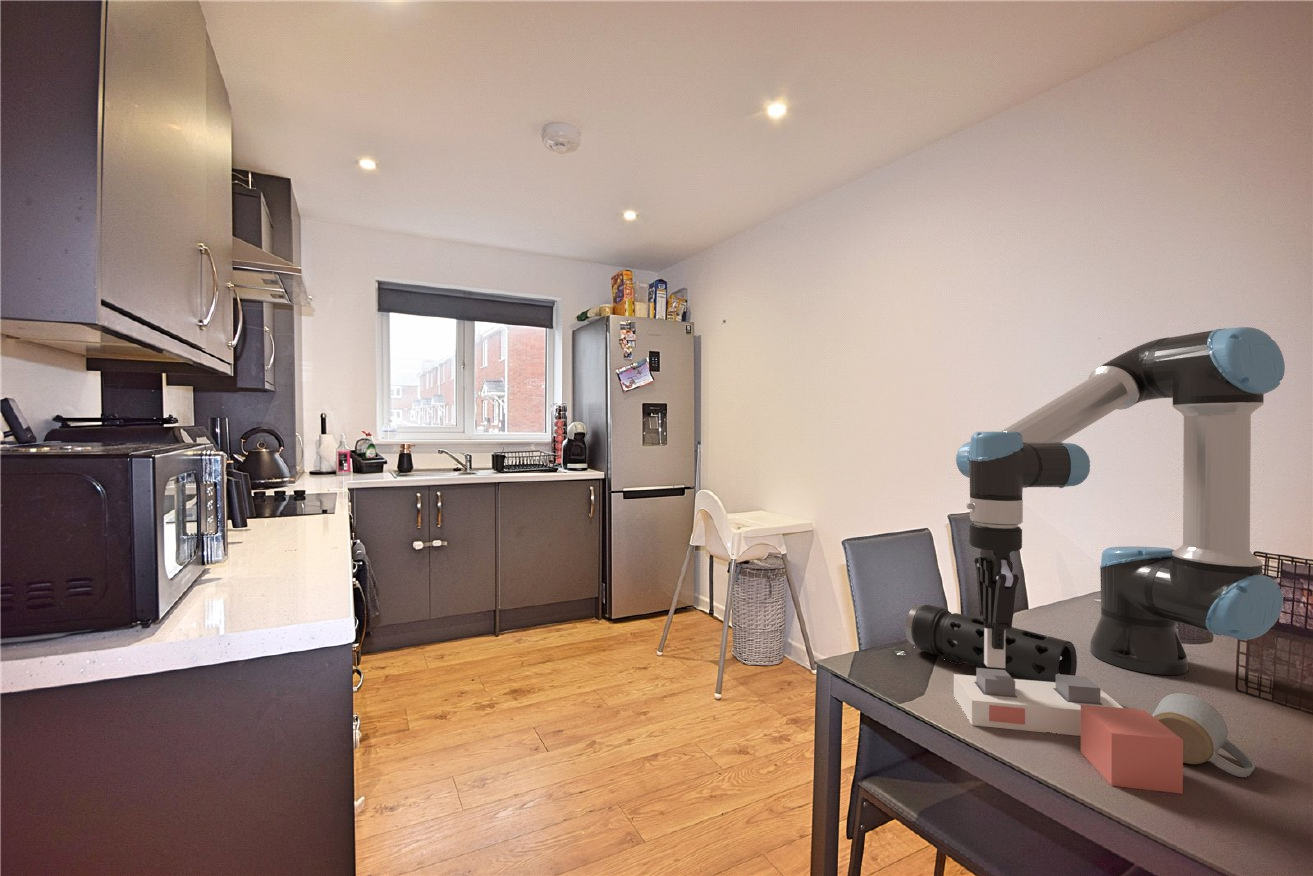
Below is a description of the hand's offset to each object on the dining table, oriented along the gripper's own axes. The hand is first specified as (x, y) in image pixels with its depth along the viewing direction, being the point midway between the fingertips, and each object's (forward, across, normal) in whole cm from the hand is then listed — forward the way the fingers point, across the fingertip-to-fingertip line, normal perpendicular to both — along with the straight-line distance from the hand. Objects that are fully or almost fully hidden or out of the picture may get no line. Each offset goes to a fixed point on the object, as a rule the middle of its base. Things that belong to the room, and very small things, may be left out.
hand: (994, 665), depth 94 cm
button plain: (+5, 0, +12) cm, 13 cm away
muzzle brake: (+8, -18, +4) cm, 20 cm away
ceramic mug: (+8, +8, +24) cm, 27 cm away
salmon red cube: (+8, +14, +12) cm, 20 cm away
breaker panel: (+8, 0, +6) cm, 10 cm away
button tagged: (+6, 0, 0) cm, 6 cm away
